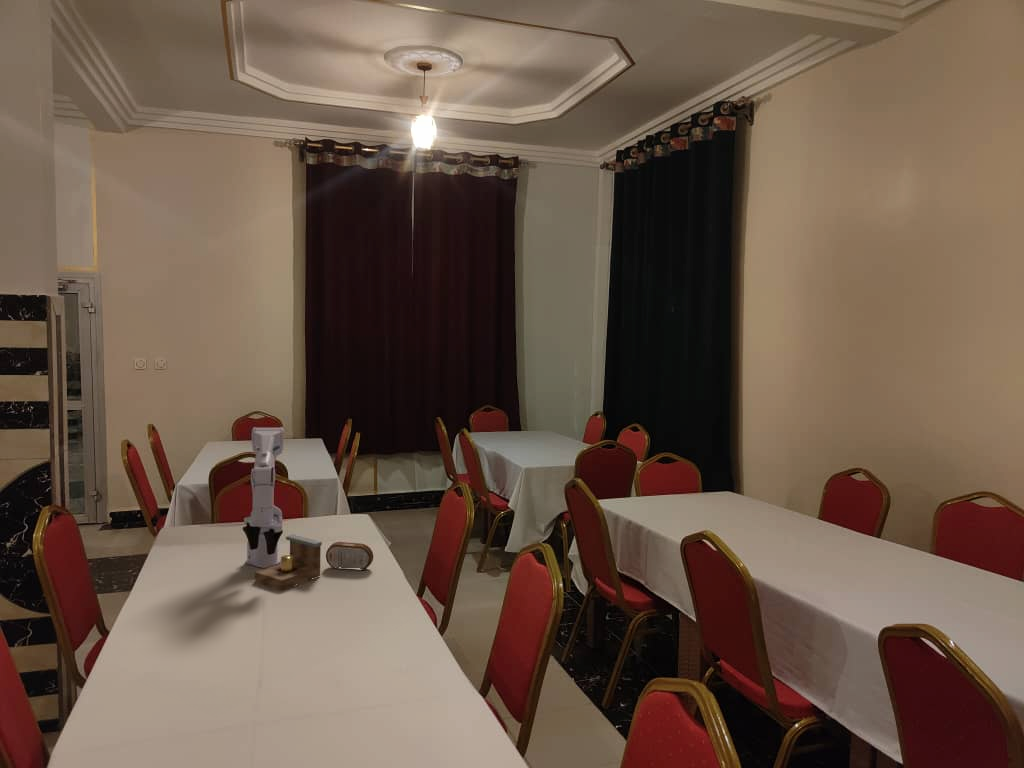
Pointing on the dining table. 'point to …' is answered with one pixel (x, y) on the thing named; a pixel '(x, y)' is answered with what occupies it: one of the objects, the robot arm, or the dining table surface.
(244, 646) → the dining table surface
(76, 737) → the dining table surface
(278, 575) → the socket block
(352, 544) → the tin
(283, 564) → the peg
